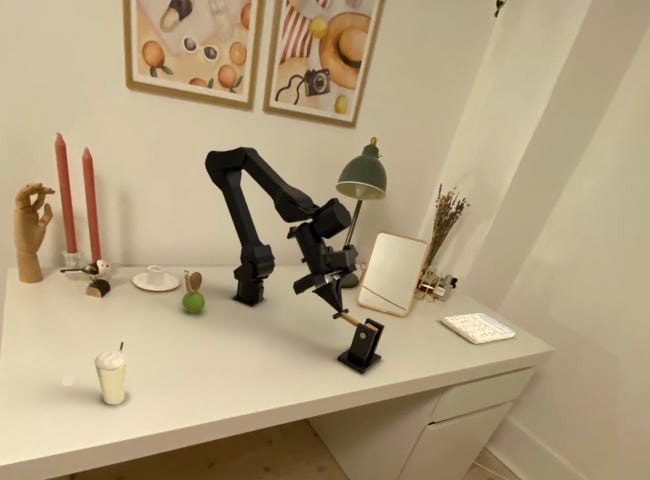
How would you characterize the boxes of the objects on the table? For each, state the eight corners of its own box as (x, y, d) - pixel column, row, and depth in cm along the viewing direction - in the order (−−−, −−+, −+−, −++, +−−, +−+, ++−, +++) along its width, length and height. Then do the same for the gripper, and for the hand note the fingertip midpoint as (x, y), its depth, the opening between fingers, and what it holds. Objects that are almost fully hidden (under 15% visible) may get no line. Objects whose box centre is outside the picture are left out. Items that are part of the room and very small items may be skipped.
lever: (330, 319, 87) (334, 311, 85) (343, 313, 91) (346, 305, 89) (366, 343, 83) (370, 334, 81) (377, 335, 87) (381, 327, 85)
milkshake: (137, 393, 67) (134, 346, 61) (116, 411, 62) (111, 362, 57) (115, 384, 68) (110, 337, 62) (93, 401, 63) (86, 352, 58)
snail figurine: (175, 313, 92) (175, 267, 85) (190, 304, 97) (192, 259, 90) (194, 320, 90) (196, 274, 84) (208, 311, 96) (211, 266, 89)
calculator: (439, 321, 116) (442, 316, 115) (480, 316, 125) (482, 311, 124) (474, 345, 107) (477, 339, 106) (514, 337, 116) (518, 332, 115)
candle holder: (188, 286, 105) (188, 272, 102) (151, 297, 96) (150, 281, 94) (161, 271, 110) (161, 257, 108) (123, 279, 101) (122, 264, 99)
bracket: (336, 360, 87) (348, 323, 82) (355, 347, 94) (367, 313, 88) (362, 374, 84) (375, 337, 79) (380, 360, 91) (393, 325, 85)
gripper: (316, 237, 74) (347, 310, 75) (361, 227, 87) (387, 290, 88) (279, 260, 82) (308, 326, 83) (326, 248, 95) (350, 305, 96)
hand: (340, 311), depth 87 cm, fingers closed, pressing on lever
